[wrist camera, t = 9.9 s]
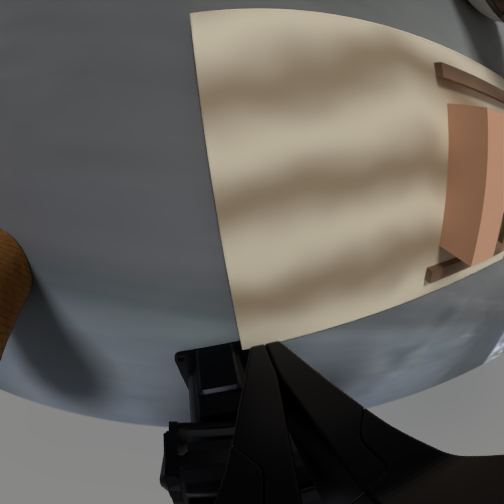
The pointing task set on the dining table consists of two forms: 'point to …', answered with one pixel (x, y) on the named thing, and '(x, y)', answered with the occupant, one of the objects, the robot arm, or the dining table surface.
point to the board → (329, 163)
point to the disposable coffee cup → (11, 285)
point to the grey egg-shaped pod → (490, 8)
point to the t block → (473, 182)
